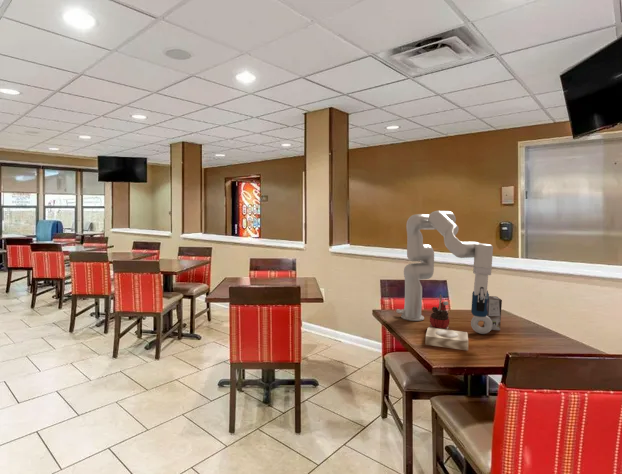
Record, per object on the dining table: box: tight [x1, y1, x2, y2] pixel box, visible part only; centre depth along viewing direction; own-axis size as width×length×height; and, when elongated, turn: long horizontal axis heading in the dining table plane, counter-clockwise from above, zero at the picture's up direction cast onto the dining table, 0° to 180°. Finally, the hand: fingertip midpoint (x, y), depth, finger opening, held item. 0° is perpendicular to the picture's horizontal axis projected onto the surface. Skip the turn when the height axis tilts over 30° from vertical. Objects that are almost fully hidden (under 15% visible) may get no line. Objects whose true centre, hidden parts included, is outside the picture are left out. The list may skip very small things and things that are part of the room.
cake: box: [429, 294, 450, 330], centre depth 190 cm, size 11×9×18 cm
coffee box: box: [483, 295, 503, 331], centre depth 195 cm, size 9×6×16 cm
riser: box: [424, 326, 469, 351], centre depth 170 cm, size 18×14×4 cm
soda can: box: [470, 289, 490, 317], centre depth 168 cm, size 7×7×12 cm
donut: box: [470, 316, 493, 335], centre depth 184 cm, size 10×4×10 cm, turn 66°
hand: (479, 308), depth 169 cm, fingers closed on soda can, 6 cm apart
